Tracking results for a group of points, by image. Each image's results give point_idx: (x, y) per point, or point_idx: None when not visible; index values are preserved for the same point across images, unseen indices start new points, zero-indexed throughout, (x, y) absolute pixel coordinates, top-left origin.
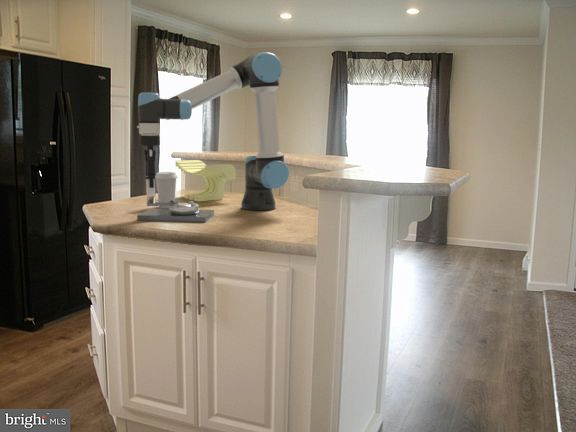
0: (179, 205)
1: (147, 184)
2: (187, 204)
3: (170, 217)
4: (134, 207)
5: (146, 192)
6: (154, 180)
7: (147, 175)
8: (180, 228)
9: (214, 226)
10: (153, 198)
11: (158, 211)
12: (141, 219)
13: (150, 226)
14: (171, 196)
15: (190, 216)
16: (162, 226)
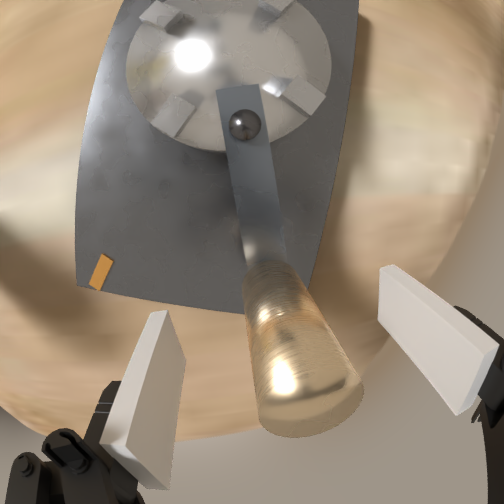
0: (295, 78)
1: (429, 378)
2: (210, 33)
3: (337, 145)
4: (6, 341)
5: (182, 364)
6: (486, 340)
7: (134, 488)
8: (457, 122)
9: (417, 9)
10: (301, 281)
11: (168, 229)
12: None
13: (423, 231)
14: None
15: (347, 47)
16: (429, 184)
